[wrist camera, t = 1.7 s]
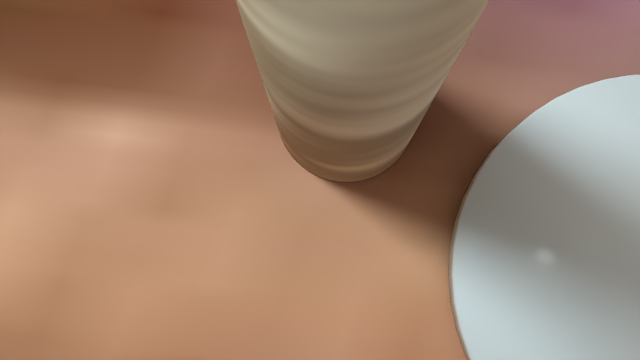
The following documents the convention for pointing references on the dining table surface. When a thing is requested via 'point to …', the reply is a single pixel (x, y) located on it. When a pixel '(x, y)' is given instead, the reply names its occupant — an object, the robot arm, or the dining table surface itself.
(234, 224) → the dining table surface
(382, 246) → the dining table surface
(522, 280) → the plate
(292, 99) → the beige striped cylinder
